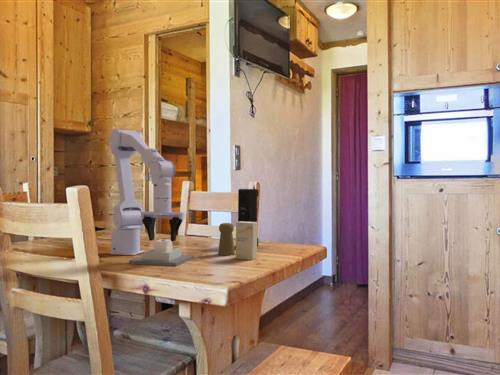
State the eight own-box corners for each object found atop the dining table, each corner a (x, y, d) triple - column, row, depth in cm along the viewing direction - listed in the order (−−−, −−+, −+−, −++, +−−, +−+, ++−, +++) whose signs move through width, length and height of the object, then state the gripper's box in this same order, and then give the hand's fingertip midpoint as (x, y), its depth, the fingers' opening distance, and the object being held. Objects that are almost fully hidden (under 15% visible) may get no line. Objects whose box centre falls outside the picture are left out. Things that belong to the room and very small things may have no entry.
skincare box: (235, 258, 142) (235, 222, 142) (240, 256, 146) (240, 221, 146) (252, 260, 139) (252, 222, 139) (257, 258, 143) (257, 221, 143)
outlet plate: (128, 263, 134) (128, 252, 134) (150, 256, 147) (150, 245, 147) (176, 266, 130) (176, 254, 130) (194, 258, 143) (194, 247, 143)
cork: (232, 256, 147) (232, 224, 147) (215, 255, 148) (215, 223, 148) (236, 253, 153) (236, 222, 153) (220, 252, 154) (220, 222, 154)
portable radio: (234, 246, 169) (234, 182, 169) (245, 244, 173) (245, 182, 173) (247, 248, 164) (247, 182, 163) (259, 246, 168) (259, 182, 167)
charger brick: (154, 258, 137) (153, 240, 137) (161, 255, 142) (161, 238, 142) (165, 259, 136) (165, 241, 136) (172, 256, 141) (172, 239, 141)
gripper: (135, 198, 136) (135, 241, 137) (177, 199, 132) (177, 243, 133) (146, 197, 143) (146, 238, 143) (187, 198, 139) (187, 240, 140)
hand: (162, 240), depth 138 cm, fingers open, 7 cm apart
